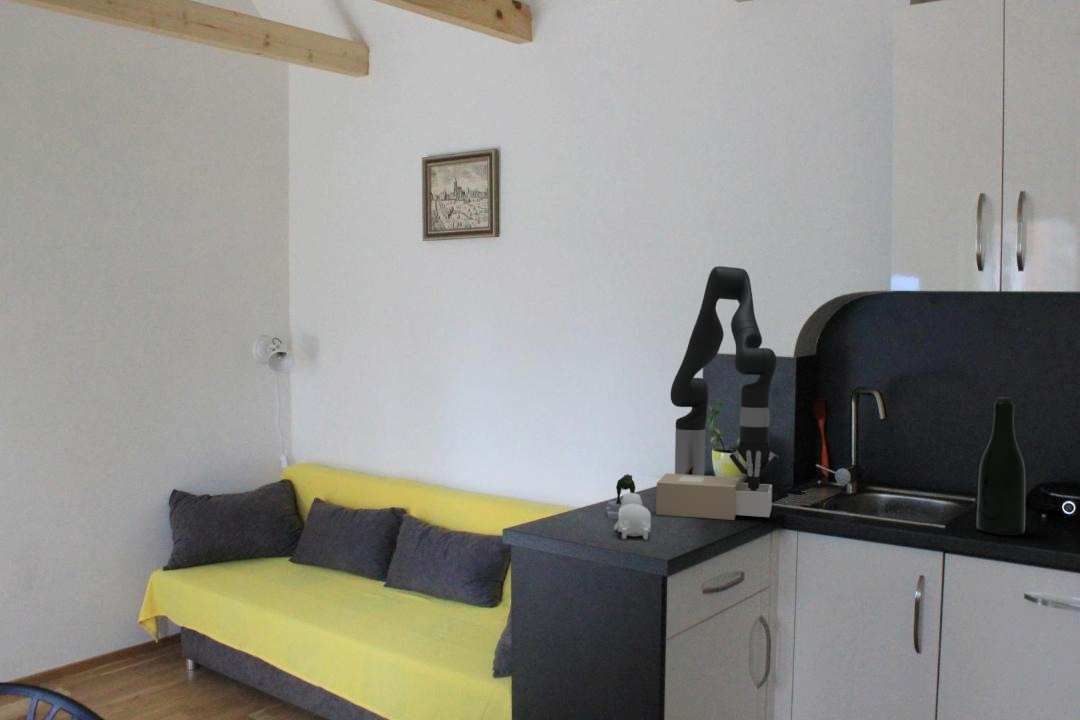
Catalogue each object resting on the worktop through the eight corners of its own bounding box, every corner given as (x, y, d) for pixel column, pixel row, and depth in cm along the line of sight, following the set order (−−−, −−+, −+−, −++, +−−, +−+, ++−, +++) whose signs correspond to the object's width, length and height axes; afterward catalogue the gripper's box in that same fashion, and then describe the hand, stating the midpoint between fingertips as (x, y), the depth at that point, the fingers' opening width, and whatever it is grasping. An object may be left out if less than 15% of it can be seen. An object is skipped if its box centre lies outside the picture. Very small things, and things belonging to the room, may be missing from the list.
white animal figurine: (652, 551, 212) (647, 515, 226) (654, 520, 209) (649, 485, 222) (615, 550, 212) (612, 514, 226) (617, 520, 209) (613, 485, 222)
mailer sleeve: (665, 503, 254) (666, 473, 254) (739, 508, 249) (739, 477, 248) (656, 514, 239) (656, 482, 239) (734, 520, 233) (735, 486, 233)
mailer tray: (699, 502, 250) (699, 480, 250) (771, 507, 245) (772, 484, 245) (693, 512, 237) (693, 488, 237) (769, 517, 232) (769, 493, 232)
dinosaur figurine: (609, 522, 229) (610, 475, 229) (604, 506, 249) (605, 464, 249) (646, 522, 229) (647, 476, 229) (638, 507, 249) (639, 464, 249)
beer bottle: (987, 525, 230) (991, 394, 229) (1031, 533, 223) (1036, 397, 221) (968, 531, 224) (972, 396, 223) (1013, 539, 216) (1017, 399, 215)
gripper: (781, 424, 241) (780, 489, 241) (729, 422, 244) (728, 486, 245) (780, 426, 233) (779, 494, 234) (727, 424, 237) (726, 491, 238)
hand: (753, 490), depth 239 cm, fingers closed
